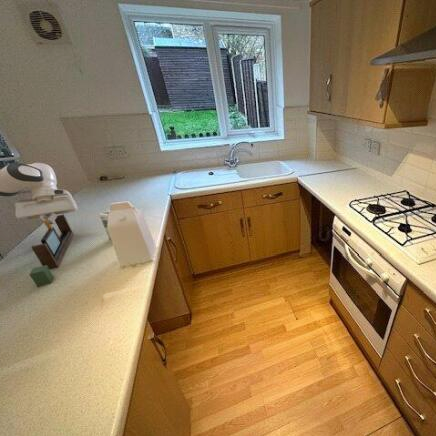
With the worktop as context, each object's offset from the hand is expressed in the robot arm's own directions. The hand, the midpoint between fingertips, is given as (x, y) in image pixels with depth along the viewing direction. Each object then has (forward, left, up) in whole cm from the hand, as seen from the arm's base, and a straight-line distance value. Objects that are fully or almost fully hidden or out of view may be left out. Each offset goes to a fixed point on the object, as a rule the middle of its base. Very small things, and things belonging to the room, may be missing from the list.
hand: (49, 224), depth 107 cm
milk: (+41, +3, -13) cm, 43 cm away
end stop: (+18, -19, -13) cm, 29 cm away
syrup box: (+19, +13, -13) cm, 26 cm away
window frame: (+2, -2, -13) cm, 13 cm away
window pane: (+4, -5, -10) cm, 12 cm away
